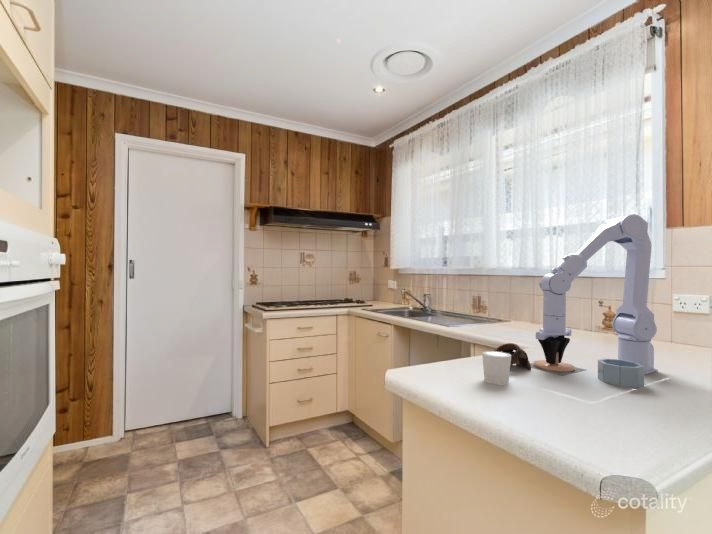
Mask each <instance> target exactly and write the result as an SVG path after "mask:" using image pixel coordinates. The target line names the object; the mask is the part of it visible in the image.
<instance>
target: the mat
mask: <svg viewBox="0 0 712 534" xmlns="http://www.w3.org/2000/svg"><path fill="white" fill-rule="evenodd" d="M530 364H531V369H534V370H539V371H543V372H547V373H550V374H553V375H558V376H567V375H571V374H576V373H580V372H583V371H587V369H585V368H581V367H576V366H574V367H575V371H573V372H552V371H547V370H542V369H539V368H536V367H535V366H534V365H533V364H534V362H532V363H531V362H530Z"/></svg>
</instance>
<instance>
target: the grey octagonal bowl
mask: <svg viewBox="0 0 712 534" xmlns="http://www.w3.org/2000/svg"><path fill="white" fill-rule="evenodd" d="M597 379H598V380H599V381H602V382H603V383H605V384H610V385H613V386H618V387H624V388H625V387H627V388H633V390H638V389H641V388H644V387H645V374H644V366H643V365H641V364H639V363H636V362H631V361H626V360H620V359H618V358H616V359H615V358H601V359H598V360H597Z"/></svg>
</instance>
